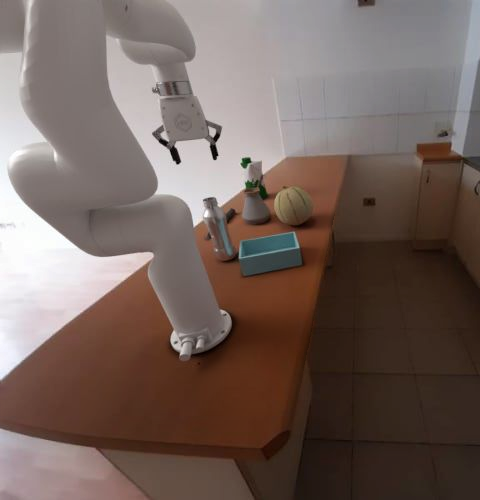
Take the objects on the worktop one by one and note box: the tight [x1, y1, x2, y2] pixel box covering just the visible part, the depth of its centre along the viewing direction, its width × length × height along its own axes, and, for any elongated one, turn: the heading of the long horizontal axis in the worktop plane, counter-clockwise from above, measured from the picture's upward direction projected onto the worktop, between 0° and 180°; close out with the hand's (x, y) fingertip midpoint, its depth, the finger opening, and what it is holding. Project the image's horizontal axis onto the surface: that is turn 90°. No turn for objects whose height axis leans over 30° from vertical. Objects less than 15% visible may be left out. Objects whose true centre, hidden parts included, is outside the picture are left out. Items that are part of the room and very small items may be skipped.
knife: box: [206, 207, 236, 240], centre depth 112 cm, size 24×5×3 cm, turn 168°
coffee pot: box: [241, 174, 272, 225], centre depth 115 cm, size 21×12×15 cm, turn 174°
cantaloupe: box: [273, 185, 314, 226], centre depth 106 cm, size 15×15×15 cm
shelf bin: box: [238, 231, 303, 277], centre depth 85 cm, size 11×17×6 cm, turn 104°
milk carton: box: [238, 156, 268, 200], centre depth 134 cm, size 9×9×20 cm
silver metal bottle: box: [202, 196, 237, 262], centre depth 85 cm, size 6×7×20 cm
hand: (197, 161), depth 78 cm, fingers open, 9 cm apart
